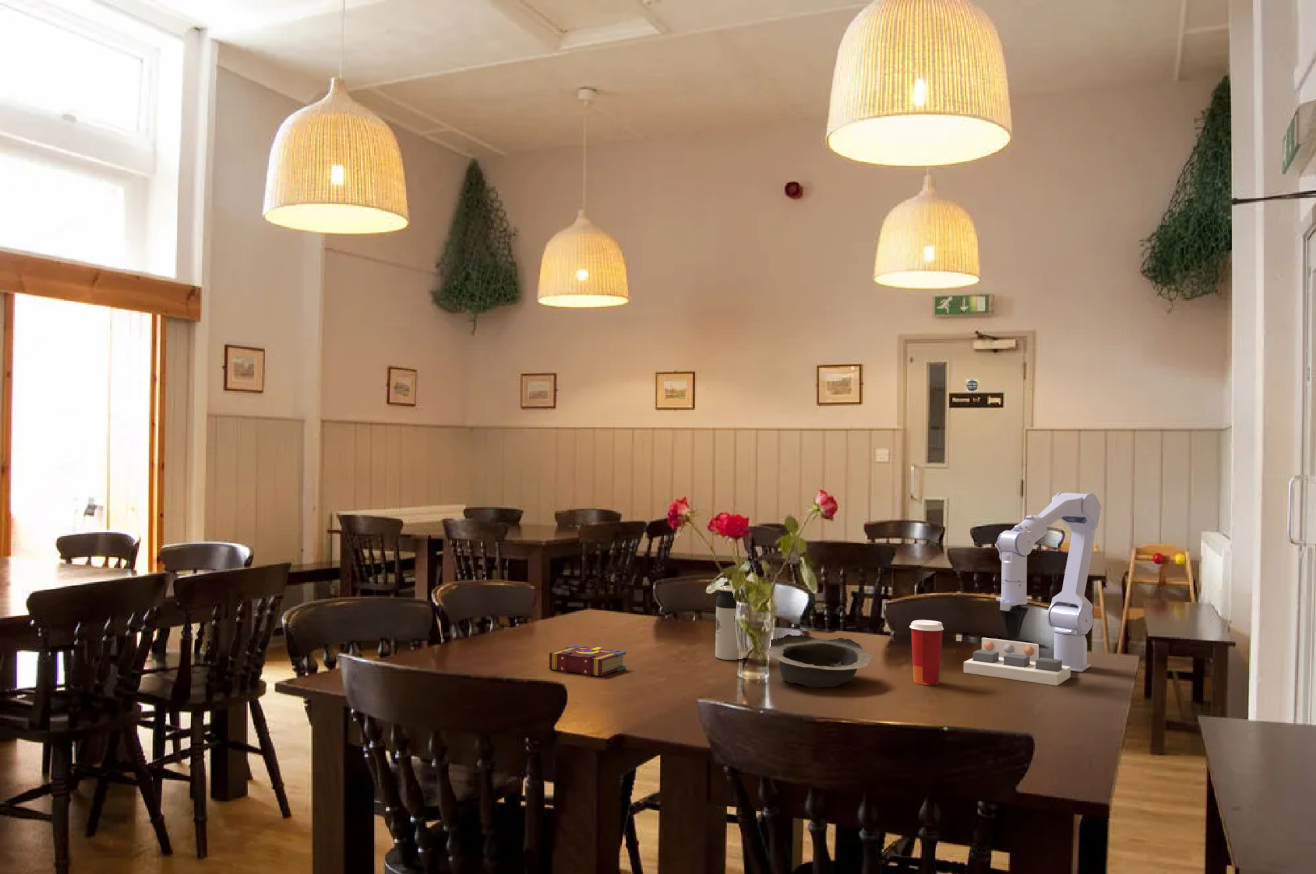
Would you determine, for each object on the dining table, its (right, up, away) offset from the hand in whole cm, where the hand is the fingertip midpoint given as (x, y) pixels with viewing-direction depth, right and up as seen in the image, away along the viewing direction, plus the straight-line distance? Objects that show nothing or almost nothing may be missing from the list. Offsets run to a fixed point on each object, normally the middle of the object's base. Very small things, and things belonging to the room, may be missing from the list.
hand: (1013, 637), depth 246 cm
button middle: (+2, -8, +2) cm, 8 cm away
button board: (+2, -10, +2) cm, 10 cm away
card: (+4, -10, +14) cm, 18 cm away
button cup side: (+8, -8, -2) cm, 11 cm away
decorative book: (-103, -8, 0) cm, 103 cm away
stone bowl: (-48, -9, -9) cm, 50 cm away
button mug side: (-4, -8, +7) cm, 11 cm away
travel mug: (-67, -9, +17) cm, 69 cm away
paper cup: (-23, -9, -8) cm, 26 cm away
